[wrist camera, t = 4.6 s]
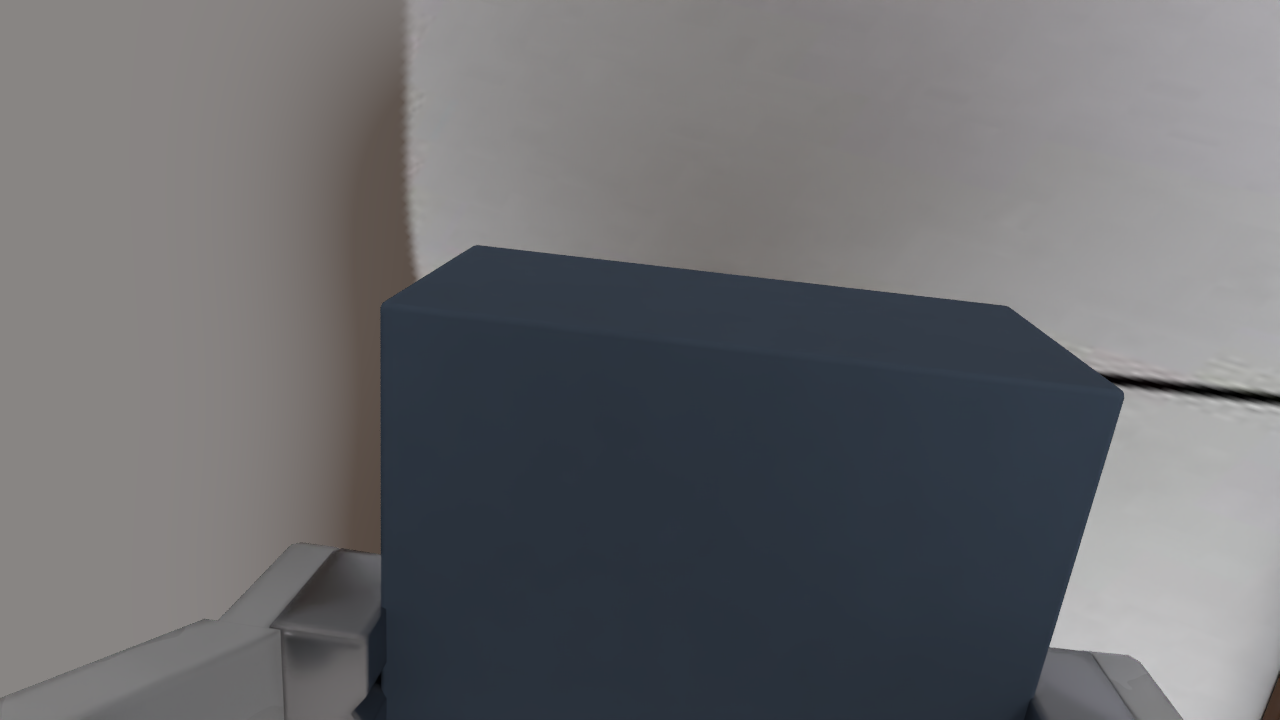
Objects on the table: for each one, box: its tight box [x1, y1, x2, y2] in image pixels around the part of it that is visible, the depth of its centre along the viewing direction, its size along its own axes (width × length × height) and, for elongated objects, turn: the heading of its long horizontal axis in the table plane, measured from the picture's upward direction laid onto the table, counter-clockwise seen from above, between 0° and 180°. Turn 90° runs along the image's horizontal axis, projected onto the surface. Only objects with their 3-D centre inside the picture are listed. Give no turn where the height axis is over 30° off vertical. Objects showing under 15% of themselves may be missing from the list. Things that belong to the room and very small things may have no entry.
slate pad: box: [381, 245, 1124, 720], centre depth 10 cm, size 8×6×3 cm
